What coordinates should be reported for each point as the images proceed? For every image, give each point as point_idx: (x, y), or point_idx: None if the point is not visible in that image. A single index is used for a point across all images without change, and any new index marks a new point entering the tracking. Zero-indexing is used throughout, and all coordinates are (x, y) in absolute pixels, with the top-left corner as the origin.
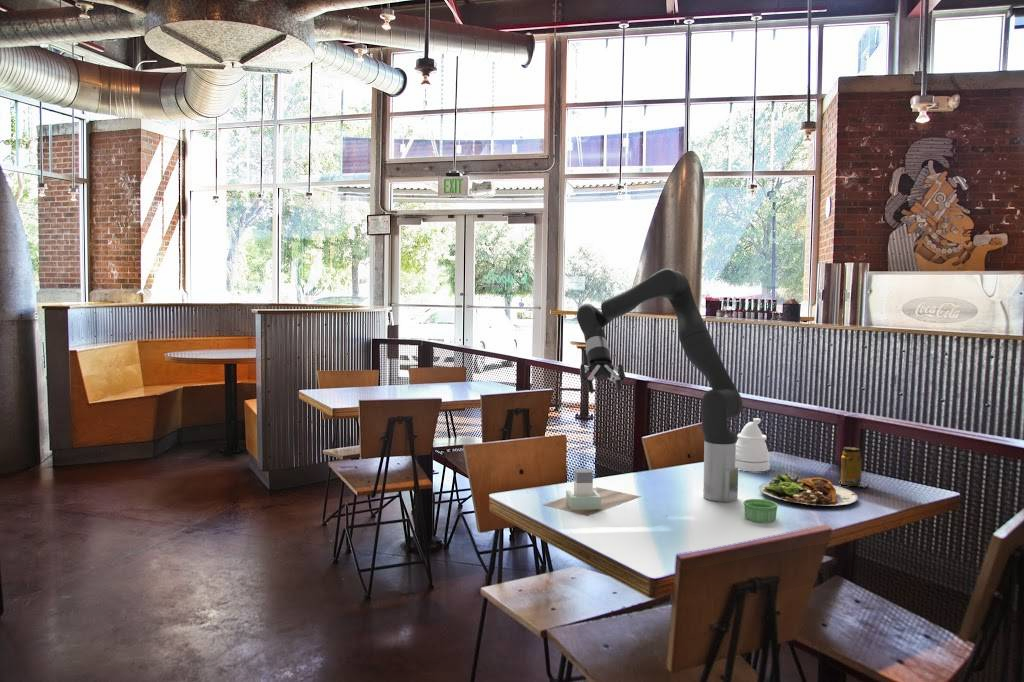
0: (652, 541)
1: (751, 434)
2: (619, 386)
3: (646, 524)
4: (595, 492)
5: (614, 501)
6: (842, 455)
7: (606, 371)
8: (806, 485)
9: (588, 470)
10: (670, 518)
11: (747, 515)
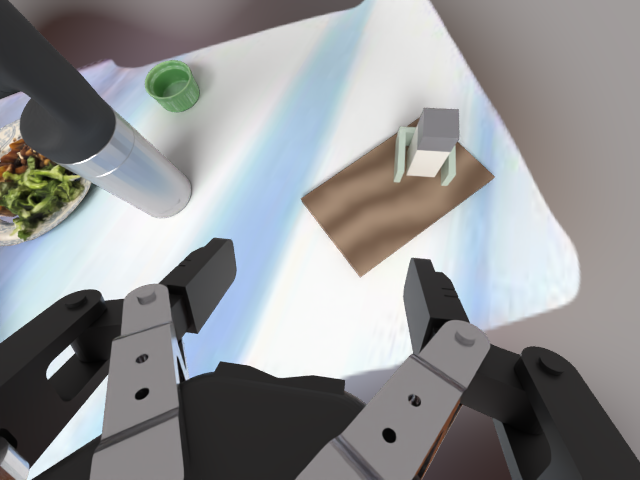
0: (363, 37)
1: None
2: (204, 248)
3: (344, 92)
4: (402, 153)
5: (359, 177)
6: None
7: (202, 412)
8: (14, 169)
9: (429, 123)
10: (299, 111)
11: (197, 89)
